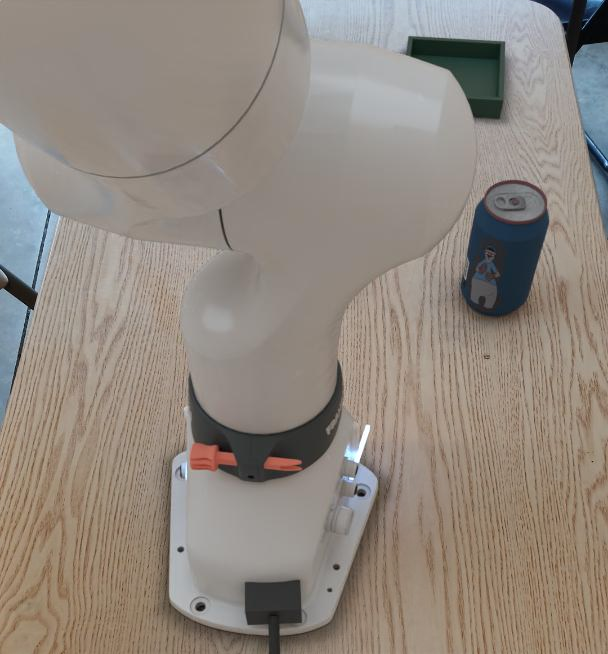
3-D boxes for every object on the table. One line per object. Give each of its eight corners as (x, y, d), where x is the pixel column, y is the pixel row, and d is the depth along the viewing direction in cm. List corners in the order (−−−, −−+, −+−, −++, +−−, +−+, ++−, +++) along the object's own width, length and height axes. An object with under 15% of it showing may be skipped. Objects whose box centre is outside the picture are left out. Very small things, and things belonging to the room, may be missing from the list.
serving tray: (499, 119, 101) (503, 100, 98) (399, 112, 102) (400, 93, 99) (502, 60, 106) (505, 41, 104) (406, 54, 107) (408, 35, 105)
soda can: (522, 274, 88) (549, 175, 77) (529, 323, 84) (558, 226, 74) (456, 273, 88) (474, 174, 77) (460, 322, 85) (480, 225, 74)
